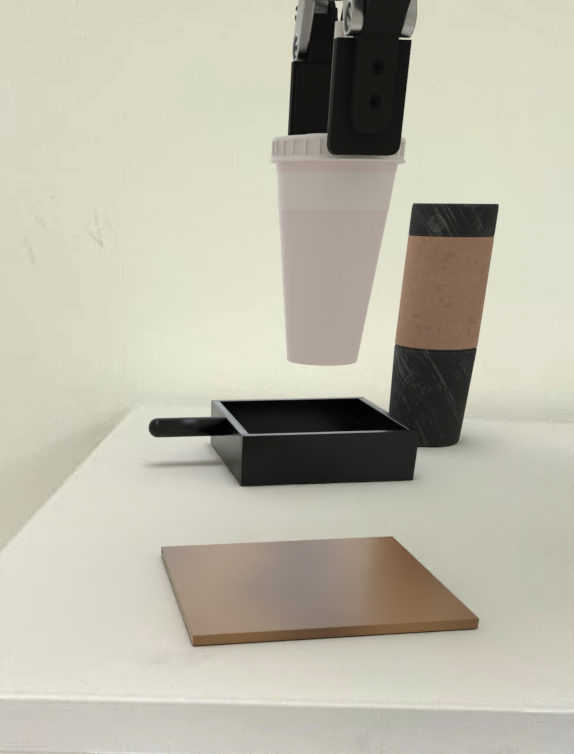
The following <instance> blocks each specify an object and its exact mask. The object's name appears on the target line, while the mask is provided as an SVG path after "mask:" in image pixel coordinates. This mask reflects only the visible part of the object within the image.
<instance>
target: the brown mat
mask: <svg viewBox="0 0 574 754" xmlns="http://www.w3.org/2000/svg"><path fill="white" fill-rule="evenodd" d="M160 549H161V550H160V555H161V558H162V561H163V563H164V566H165V569H166V573H167V576H168V578H169V582H170V584H171V586H172V590H173V592H174V595H175V598H176V602H177V605H178V607H179V610H180V613H181V615H182V618H183V621H184V624H185V627H186V630H187V632H188V636H189V637H190V638H189V639H190V641H191V644H192V646H193V647H194V646H195V647H196V646H211V645H226V644H243V643H244V644H245V643H258V642H275V641H288V640H290V641H294V640H307V639H309V640H310V639H323V638H340V637H343V638H344V637H356V636H376V635H391V634H405V633H406V634H408V633H422V632H423V633H424V632H440V631H455V630H457V631H458V630H470V629H478V628H479V622H480V618H479V616H477V615H476V614H475V612H473V611H472V610H471V609H470V608H469V607H468V606H467V605H466V604H464V602H462V600H460V598H458V596H456V595H455V593H453V592H452V591H451V590H450V589H448V587H446V586H445V585H444V584H443V583H442V582H441V581H440V580H439V579H438V578H437V576H436V575H434V574H433V573H432V572H431V571H430V570H428V569H427V568H426V567H425V566H424V564H422V562H420V561H419V560H418V559H417V558H416V557H415V556H414V555H413V554H412V553H411V552H410V551H409V550H408V549H406V548H405V547H404V546H403V545H402V543H400V541H398V540H397V539H396V538H395V537H394V536H392V535H389V536H369V537H344V538H343V537H342V538H326V539H325V538H323V539H321V538H320V539H302V540H301V539H300V540H298V539H297V540H278V541H258V542H257V541H256V542H236V543H234V542H233V543H232V542H231V543H212V544H209V543H208V544H189V545H169V546H167V545H166V546H160Z"/></svg>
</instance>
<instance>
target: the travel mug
mask: <svg viewBox="0 0 574 754" xmlns="http://www.w3.org/2000/svg"><path fill="white" fill-rule="evenodd" d="M499 209H500V205H499V203H452V202H451V203H450V202H449V203H442V202H441V203H439V202H438V203H434V202H433V203H432V202H431V203H430V202H429V203H427V202H412V206H411V211H410V220H409V225H408V226H409V227H408V235H407V242H406V251H405V258H404V265H403V266H404V267H403V275H402V284H401V289H400V299H399V307H398V315H397V322H396V330H395V339H394V349H393V359H392V371H391V383H390V392H389V393H390V394H389V406H388V412H389V413H390V414H392V415H394V416H395V417H397V418H398V419H400V420H402V421H403V422H405V423H407V424H408V425H410V426H412V427H413V428H415V429H417V430H418V431H420V434H419V441H418V447H427V448H428V447H429V448H430V447H434V448H435V447H436V448H437V447H446V446H452V445H455V444H457V443H458V442H459V441H460V437H461V433H462V427H463V423H464V419H465V412H466V408H467V402H468V398H469V392H470V386H471V382H472V376H473V371H474V366H475V362H476V361H475V360H476V356H477V350H478V349H477V347H478V346H479V339H480V333H481V325H482V319H483V313H484V312H483V311H484V307H485V300H486V295H487V294H486V293H487V287H488V281H489V275H490V267H491V261H492V255H493V248H494V241H495V235H496V229H497V221H498V216H499Z"/></svg>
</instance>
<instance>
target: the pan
mask: <svg viewBox="0 0 574 754" xmlns="http://www.w3.org/2000/svg"><path fill="white" fill-rule="evenodd" d="M147 429H148V432H149V434H150V435H151V436H152V437H154V438H157V439H158V438H181V437H182V438H187V437H189V438H190V437H191V438H193V437H210V444H211V446H212V447H213V449H214V450H215V451H216V453H217V454H218V456H219V458H220V459H221V460H222V461H223V463H224V464H225V466H226V467H227V468H228V470H229V471H230V473H231V474H232V475H233V477H234V478H235V480H236V481H237V482H238V484H239V485H240V486H241V487H247V486H249V487H250V486H275V485H276V486H277V485H301V484H302V485H304V484H329V483H331V484H332V483H333V484H334V483H357V482H359V483H360V482H385V481H386V482H387V481H388V482H390V481H412V480H414V476H415V468H416V463H417V455H418V449H419V448H418V447H419V446H418V441H419V434H420V431H418V430H417V429H415V428H413V427H412V426H410V425H408V424H407V423H405V422H403V421H402V420H400V419H398V418H397V417H395V416H394V415H392V414H390V413H389V411H387V410H385V409H383V408H382V407H381V406H380V405H377V404H376V403H374V402H373V401H371V400H368V399H367V398H365V396H343V397H341V396H339V397H338V396H337V397H334V396H332V397H331V396H330V397H294V398H293V397H291V398H290V397H288V398H287V397H286V398H246V399H244V398H243V399H239V398H237V399H211V401H210V416H187V417H186V416H184V417H181V416H179V417H155V418H153V419H151V420H150V421H149V423H148V428H147Z"/></svg>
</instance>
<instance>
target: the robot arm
mask: <svg viewBox="0 0 574 754" xmlns="http://www.w3.org/2000/svg"><path fill="white" fill-rule="evenodd" d="M336 2H342V7H341V13H340V18H339V9H338V7H337V5H336ZM295 11H296V15H294V21H295V23H294V30H293V31H294V32H293V39H292V48H291V59H292V61H291V63H290V64H291V65H290V66H291V67H290V81H289V82H290V84H289V85H290V86H289V101H288V102H289V105H288V121H287V122H288V123H287V124H288V125H287V136H289V135H306V134H313V133H327V132H328V134H327V149H328V151H329V152H330V153H331V154H332V155H361V156H390V155H394V154H396V153H397V152H398V150H399V148H400V145H401V137H402V136H403V135H402V134H403V125H404V117H405V116H404V115H405V106H406V97H407V88H408V79H409V71H410V60H411V52H412V51H411V50H412V43H413V42H412V41H413V39H410V38H411V37H412V36H413V34H414V31H415V29H416V24H417V19H418V0H297V5H296V6H295ZM336 21H343V29H344V34H345V36H346V37H337V38H335V39H334V32H335V22H336ZM333 46H334V49H333ZM332 60H333V63H332ZM331 75H332V77H331ZM330 89H331V92H330ZM329 103H330V106H329ZM328 118H329V120H328Z"/></svg>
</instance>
